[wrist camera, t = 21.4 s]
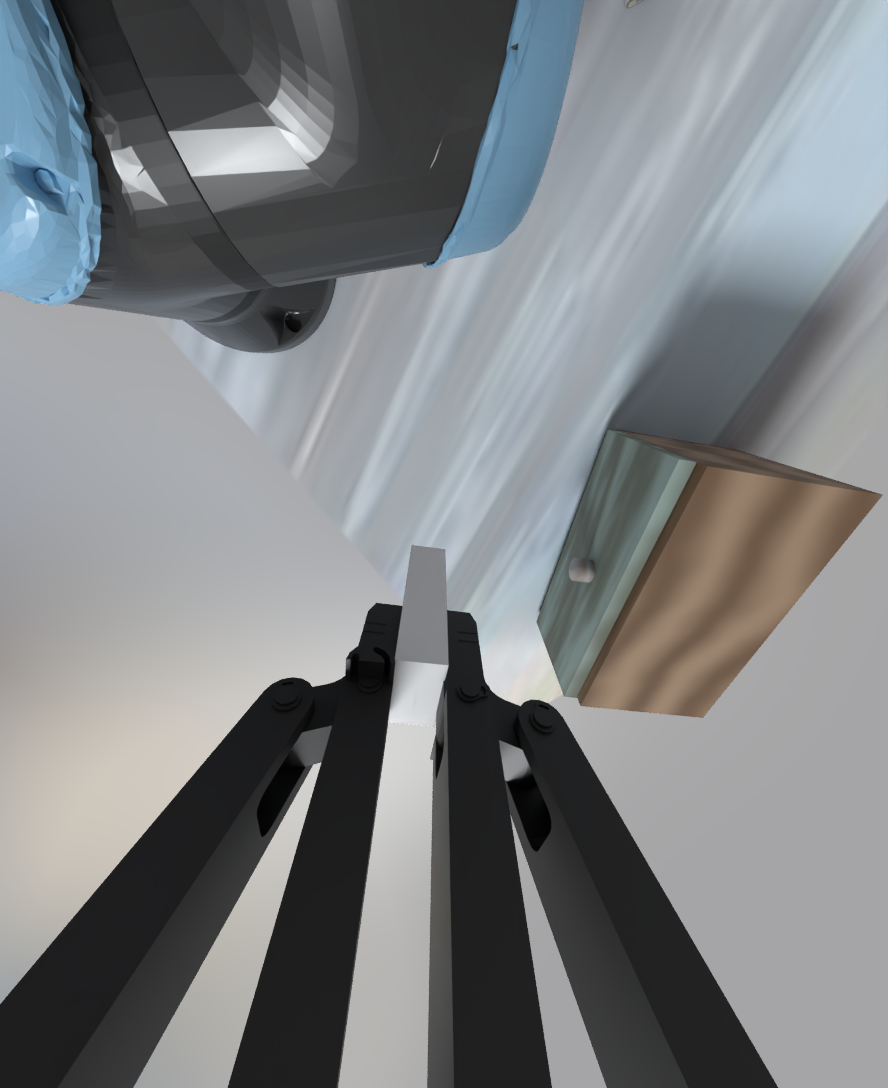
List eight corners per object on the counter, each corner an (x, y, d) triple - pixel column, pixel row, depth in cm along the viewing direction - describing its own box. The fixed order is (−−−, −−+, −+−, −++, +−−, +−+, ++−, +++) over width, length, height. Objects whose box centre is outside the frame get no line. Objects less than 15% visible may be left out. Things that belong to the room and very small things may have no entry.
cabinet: (544, 617, 49) (580, 705, 36) (616, 429, 36) (707, 466, 24) (637, 628, 50) (702, 717, 37) (737, 450, 38) (882, 494, 25)
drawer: (525, 620, 47) (549, 694, 37) (592, 426, 35) (658, 455, 25) (630, 632, 49) (683, 708, 38) (731, 449, 37) (849, 487, 26)
